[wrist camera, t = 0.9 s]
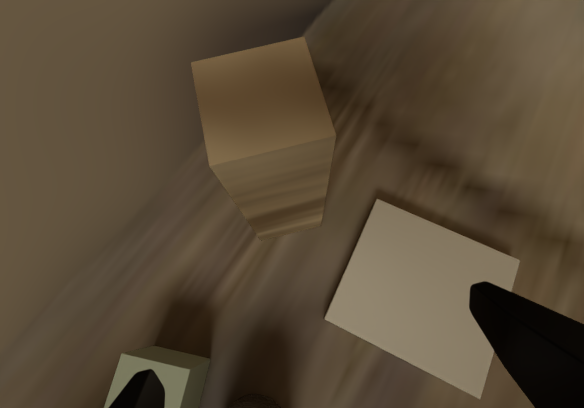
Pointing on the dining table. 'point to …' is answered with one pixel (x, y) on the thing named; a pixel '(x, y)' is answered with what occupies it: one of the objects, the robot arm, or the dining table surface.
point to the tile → (420, 294)
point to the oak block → (268, 134)
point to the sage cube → (164, 374)
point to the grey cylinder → (255, 402)
